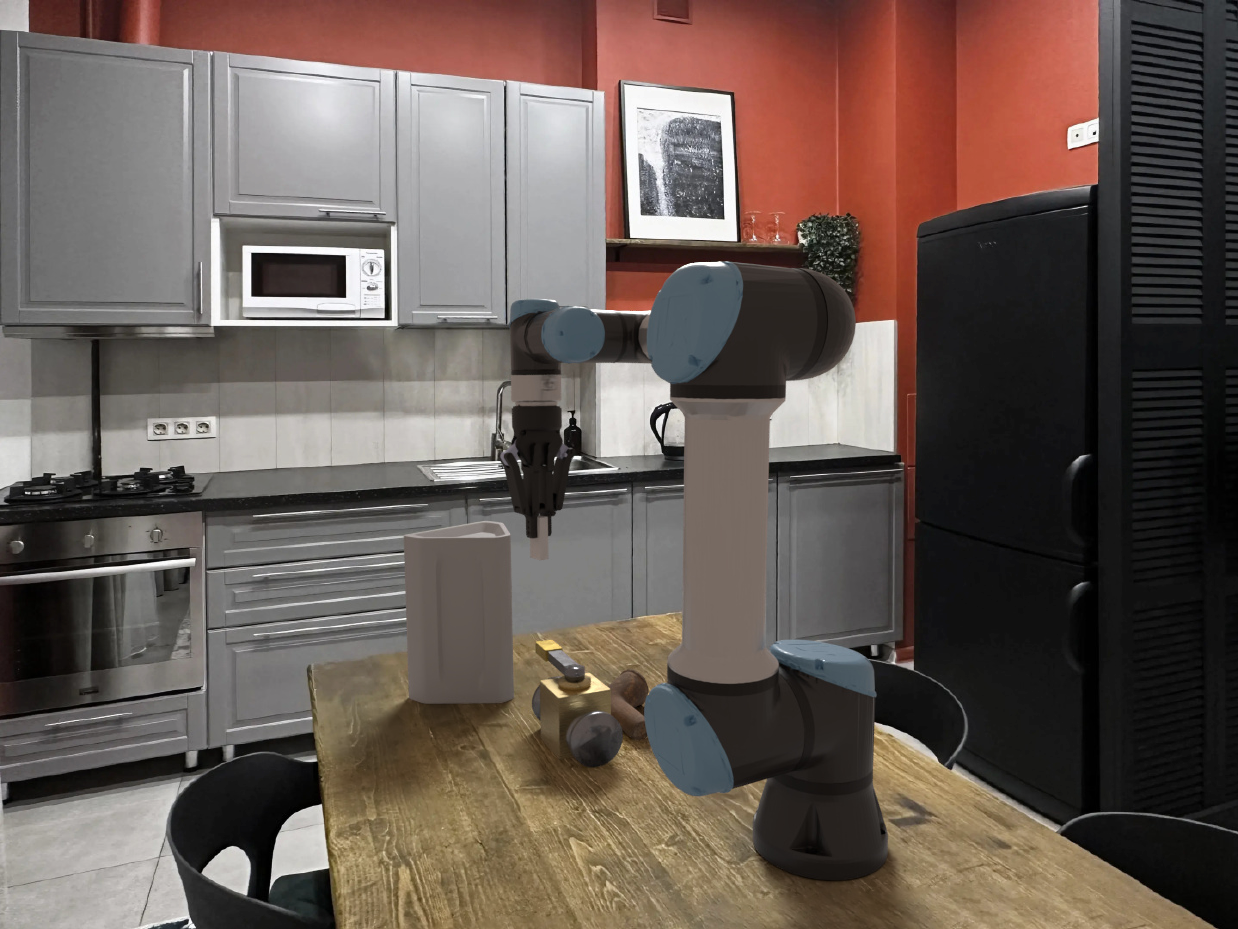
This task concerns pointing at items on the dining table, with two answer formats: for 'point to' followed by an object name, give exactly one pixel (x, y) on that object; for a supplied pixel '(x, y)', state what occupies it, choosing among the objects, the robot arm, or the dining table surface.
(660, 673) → the dining table surface
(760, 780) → the robot arm
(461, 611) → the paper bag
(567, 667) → the lever
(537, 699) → the valve body
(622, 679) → the pipe
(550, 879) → the dining table surface
